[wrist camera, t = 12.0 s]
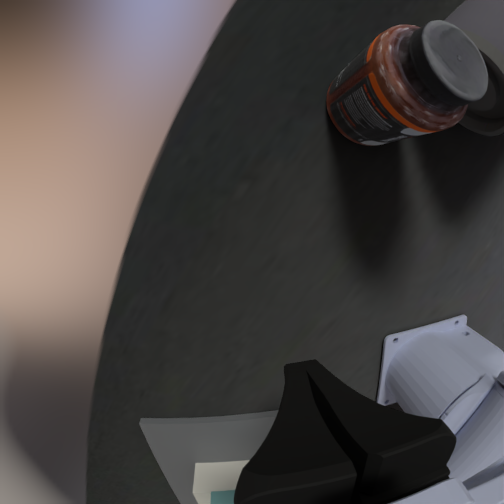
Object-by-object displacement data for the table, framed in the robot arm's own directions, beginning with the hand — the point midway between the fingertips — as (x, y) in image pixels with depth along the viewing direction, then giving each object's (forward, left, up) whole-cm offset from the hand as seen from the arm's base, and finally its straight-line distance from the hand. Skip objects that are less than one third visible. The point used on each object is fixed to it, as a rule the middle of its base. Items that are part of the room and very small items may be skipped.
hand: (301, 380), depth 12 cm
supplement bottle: (-8, -13, -11) cm, 19 cm away
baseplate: (+3, +19, -10) cm, 22 cm away
